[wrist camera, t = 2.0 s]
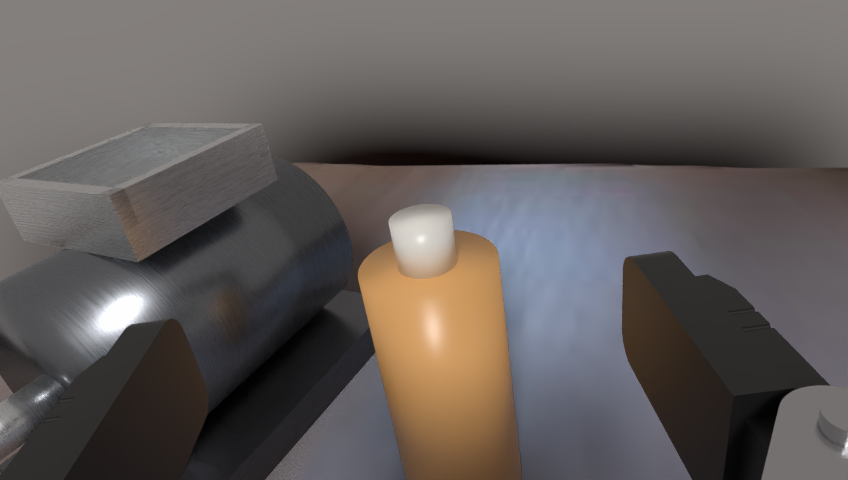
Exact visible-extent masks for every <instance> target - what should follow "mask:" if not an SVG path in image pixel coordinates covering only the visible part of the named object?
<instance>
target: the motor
mask: <svg viewBox="0 0 848 480" xmlns="http://www.w3.org/2000/svg"><path fill="white" fill-rule="evenodd" d="M0 197H1V198H2V201H3V202H4V204H5V206H6V208H7V210H8V212H9V214H10V216H11V218H12V219H13V221H14V223H15V225H16V227H17V229H18V231H19V233H20V235H21V237H22V238H23V240H24V241H29V242H34V243H39V244H44V245H50V246H55V247H60V248H64V249H62V250H60V251H58V252H56V253H54V254H53V255H50V256H48V257H47V258H45V259H42V260H40V261H39V262H37V263H35V264H33V265H31V266H29V267H27V268H25V269H23V270H21V271H19V272H17V273H15V274H13V275H11V276H9V277H7V278H5V279H3V280H1V281H0V375H1V377H2V378H3V379H4V381H5V382H6V384H7V385H8V386H9V388H10V389H11V390H12V392H13V393H14V394H12V395H11V396H9V397H8V398H6V399H5V400H3V401H2V402H0V461H1V460H2V459H3V458H5V457H6V456H7V455H9V454H10V453H11V452H13V451H14V450H15V449H17V448H18V447H19V446H21V445H22V444H23V443H25V442H26V441H27V440H28V439H29V437H30V436H31V435H32V433H33V432H34V431H35V430H36V428H37V427H38V426H39V424H40V423H44V422H45V419H44V418H45V417H46V415H47V414H48V413H49V411H50V410H51V409H52V408H53V406H54V405H55V404H58V403H59V398H60V397H61V396H62V395H63V393H64V392H65V391H66V389H67V388H68V387H69V386H70V384H71V383H72V382H73V380H74V379H75V378H76V377H77V376H78V375H79V374H80V373H82V372H83V371H84V370H85V369H87V368H88V367H89V366H90V365H92V364H93V363H94V362H96V361H97V360H98V359H99V358H101V357H102V356H106V354H107V353H108V351H109V350H110V349H111V347H112V346H113V345H114V343H115V342H116V341H117V339H118V338H119V337H120V335H121V334H122V333H123V331H124V330H125V329H126V328H127V327H128V326H129V325H131V324H137V323H144V322H151V321H159V320H166V319H175V320H177V321H178V322H179V323H180V324H181V326H182V328H183V330H184V332H185V335H186V337H187V340H188V342H189V345H190V347H191V350H192V352H193V354H194V357H195V359H196V362H197V364H198V367H199V369H200V372H201V374H202V377H203V379H204V382H205V385H206V388H207V394H208V411H207V416H206V419H205V422H204V424H203V427H202V429H201V431H200V434H199V436H198V438H197V441H196V443H195V446H194V448H193V450H192V453H191V455H190V457H189V460H188V462H187V464H186V467H185V469H184V471H183V474H182V476H181V478H180V480H265V478H266V477H267V476H268V475H269V474H270V473H271V471H272V470H273V469H274V468H275V467H276V466H277V465H278V463H279V462H280V461H281V460H282V459H283V458H284V456H285V455H286V454H287V453H288V452H289V451H290V450H291V448H292V447H293V446H294V445H295V444H296V443H297V441H298V440H299V439H300V438H301V437H302V436H303V435H304V433H305V432H306V431H307V430H308V429H309V428H310V427H311V425H312V424H313V423H314V422H315V421H316V420H317V418H318V417H319V416H320V415H321V414H322V413H323V412H324V410H325V409H326V408H327V407H328V406H329V405H330V403H331V402H332V401H333V400H334V399H335V398H336V397H337V395H338V394H339V393H340V392H341V391H342V390H343V388H344V387H345V386H346V385H347V384H348V383H349V382H350V380H351V379H352V378H353V377H354V376H355V375H356V373H357V372H358V371H359V370H360V369H361V368H362V367H363V365H364V364H365V363H366V362H367V361H368V360H369V359H370V357H371V356H372V355H373V354H374V353H375V348H374V344H373V339H372V335H371V331H370V327H369V323H368V318H367V314H366V310H365V306H364V302H363V297H362V293H359V292H353V291H347V290H343V288H344V287H345V285H346V284H347V282H348V280H349V277H350V274H351V270H352V261H353V259H352V247H351V241H350V238H349V234H348V231H347V228H346V226H345V223H344V221H343V219H342V217H341V215H340V213H339V211H338V209H337V208H336V206H335V205H334V203H333V201H332V200H331V199H330V197H329V196H328V195H327V193H326V192H325V191H324V190H323V189H322V188H321V187H320V185H319V184H318V183H317V182H316V181H315V180H314V179H312V178H311V177H310V176H309V175H308V174H307V173H305V172H304V171H303V170H301V169H300V168H298V167H297V166H295V165H293V164H292V163H290V162H288V161H285V160H283V159H281V158H278V157H275V156H271V154H270V151H269V147H268V144H267V140H266V137H265V133H264V130H263V126H262V124H209V123H207V124H206V123H205V124H204V123H149V124H146V125H143V126H141V127H138V128H136V129H133V130H130V131H128V132H125V133H123V134H120V135H117V136H115V137H112V138H110V139H107V140H104V141H102V142H99V143H97V144H94V145H91V146H89V147H86V148H84V149H81V150H78V151H76V152H73V153H71V154H68V155H65V156H63V157H60V158H58V159H55V160H52V161H50V162H47V163H45V164H42V165H39V166H37V167H34V168H32V169H29V170H26V171H24V172H21V173H19V174H16V175H13V176H11V177H8V178H6V179H3V180H0ZM18 452H19V451H18ZM18 452H17V453H18ZM17 453H16V454H17ZM16 454H14V455H13V456H12V457H10V458H9V459H8V460H6V461H5V462H4V463H2V464H1V465H0V472H1V474H2V472H3V471H4V470H5V468H6V467H7V466H8V465H9V463H10V462H11V461H12V459H13V458H14V457H15V455H16Z"/></svg>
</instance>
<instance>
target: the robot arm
mask: <svg viewBox="0 0 848 480" xmlns="http://www.w3.org/2000/svg"><path fill="white" fill-rule="evenodd" d="M622 335H623V343H624V348H625V352H626V355H627V358H628V361H629V364H630V366H631V368H632V369H633V371H634V373H635V375H636V377H637V379H638V380H639V382H640V384H641V386H642V388H643V390H644V392H645V393H646V395H647V397H648V399H649V401H650V403H651V404H652V406H653V408H654V410H655V412H656V414H657V415H658V417H659V419H660V421H661V423H662V425H663V427H664V428H665V430H666V432H667V434H668V436H669V438H670V439H671V441H672V443H673V445H674V447H675V449H676V450H677V452H678V454H679V456H680V458H681V460H682V462H683V463H684V465H685V467H686V469H687V471H688V473H689V474H690V476H691V478H692V480H848V388H843V387H837V386H830V385H829V384H828V383H827V382H826V381H825V380H824V379H823V378H822V377H821V376H820V375H819V374H818V373H817V372H816V370H815V369H814V368H813V367H812V366H811V365H810V364H809V363H808V362H807V361H806V360H805V359H804V358H803V357H802V356H801V355H800V354H799V353H798V352H797V351H796V350H795V349H794V348H793V347H792V346H791V345H790V344H789V343H788V342H787V341H786V340H785V339H784V338H783V337H782V336H781V335H780V334H779V333H778V332H777V331H776V330H775V329H774V328H771V327H770V323H769V322H768V321H767V320H766V319H765V318H764V317H763V316H762V315H761V314H760V313H759V312H755V310H754V307H753V306H752V305H751V304H750V303H749V302H748V301H747V300H746V299H745V298H744V297H743V296H742V295H741V294H740V293H739V292H738V291H737V290H736V289H735V288H733V287H731V286H729V285H727V284H725V283H723V282H721V281H719V280H717V279H715V278H713V277H711V276H709V275H702V276H694V275H693V274H692V272H691V271H690V270H689V269H688V268H687V267H686V266H685V265H684V263H683V262H682V261H681V260H680V259H679V258H678V257H677V256H676V254H674V253H673V252H671V251H667V252H659V253H652V254H645V255H638V256H630V257H627V258H626V259H625V261H624V265H623V302H622ZM207 411H208V394H207V388H206V385H205V382H204V379H203V377H202V374H201V372H200V369H199V367H198V364H197V362H196V359H195V357H194V354H193V352H192V350H191V347H190V345H189V342H188V340H187V337H186V335H185V332H184V330H183V328H182V326H181V324H180V323H179V322H178V321H177V320H175V319H166V320H159V321H151V322H144V323H137V324H131V325H129V326H128V327H127V328H126V329H125V330H124V331H123V333H122V334H121V335H120V337H119V338H118V339H117V341H116V342H115V343H114V345H113V346H112V347H111V349H110V350H109V351H108V353H107V354H106V356H102V357H101V358H99V359H98V360H97V361H96V362H94V363H93V364H92V365H90V366H89V367H88V368H87V369H85V370H84V371H83V372H82V373H80V374H79V375H78V376H77V377H76V378H75V379H74V380H73V382H72V383H71V384H70V386H69V387H68V388H67V389H66V391H65V392H64V393H63V395H62V396H61V397H60V398H59V403H58V404H55V405H54V406H53V408H52V409H51V410H50V411H49V413H48V414H47V415H46V417H45V418H44V419H45V422H44V423H40V424H39V426H38V427H37V428H36V430H35V431H34V432H33V433H32V435H31V436H30V437H29V439H28V440H27V441H26V443H25V444H24V445H23V446H22V448H21V449H20V450H19V452H18V453H17V454H16V455H15V457H14V458H13V459H12V461H11V462H10V463H9V465H8V466H7V467H6V468H5V470H4V471H3V472H2V474H1V475H0V480H180V478H181V476H182V474H183V471H184V469H185V467H186V464H187V462H188V460H189V457H190V455H191V453H192V450H193V448H194V446H195V443H196V441H197V438H198V436H199V434H200V431H201V429H202V427H203V424H204V422H205V419H206V416H207Z"/></svg>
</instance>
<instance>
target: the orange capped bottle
mask: <svg viewBox="0 0 848 480" xmlns="http://www.w3.org/2000/svg"><path fill="white" fill-rule="evenodd" d="M389 227H390V232H391V237H392V241H390V242H388V243H386V244H384V245H382V246H381V247H379V248H377V249H376V250H374V251H373V252H372V253H371V254H369V255H368V256H367V257H366V258H365V260H364V261H363V262H362V264H361V266H360V267H359V271H358V281H359V285H360V289H361V293H362V297H363V302H364V306H365V310H366V314H367V318H368V323H369V327H370V331H371V335H372V339H373V344H374V348H375V352H376V356H377V360H378V365H379V369H380V373H381V377H382V381H383V386H384V390H385V394H386V398H387V402H388V407H389V411H390V415H391V419H392V423H393V428H394V432H395V436H396V440H397V444H398V449H399V453H400V457H401V461H402V465H403V470H404V474H405V478H406V480H521V479H522V471H521V461H520V452H519V442H518V433H517V424H516V414H515V405H514V395H513V386H512V377H511V367H510V358H509V348H508V339H507V329H506V320H505V311H504V301H503V292H502V282H501V273H500V264H499V255H498V251H497V249H496V247H495V246H494V245H493V244H492V243H491V242H490V241H489V240H487V239H486V238H484V237H482V236H479V235H477V234H474V233H470V232H465V231H458V230H454V229H453V222H452V215H451V211H450V209H448V208H447V207H445V206H442V205H438V204H420V205H415V206H410V207H407V208H404V209H402V210H400V211H398V212H396V213H395V214H393V215H392V216H391V218H390V219H389Z"/></svg>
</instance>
